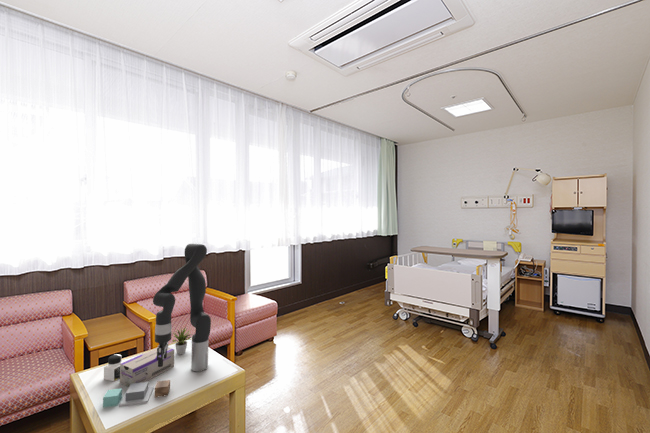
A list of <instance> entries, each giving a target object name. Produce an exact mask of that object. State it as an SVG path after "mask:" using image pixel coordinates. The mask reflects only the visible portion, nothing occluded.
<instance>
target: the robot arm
mask: <svg viewBox="0 0 650 433" xmlns="http://www.w3.org/2000/svg"><path fill="white" fill-rule="evenodd" d="M207 248H208V247H206V245H204V244H201V243H188V244H187V245H186V246H185V248H184V258H185V259H184V260H185V264H184V265H183V266H182V267H180V268H178V269H177V270H176V271H175V272H174V273H173V274H172V275H171V277H170V279H169V280H168V281H167V283H165V285H163V286H162V287H161V288H160V289H159V290H158V291H156V293H155V294H154V296H153V298H152V299H153V300H152V303H153V305H154V306H156V307H160V308H161V307H162V310H159V311H157V313H156V314H155V325H154V326H155V328H154V343H157V344H158V345H157V347H156V348H157V360H158V367H162V366H163V359H164V358H167V350H168V347H169V342H170V341H172V313H173V310H174V307H175V305H176V297H175V295H174V294H172V293H176V292H178V291H179V290H180V289H181V288H182V286H183V284H184V283H185V281H186V280H188V292H189V293H188V294H189V304H190V311H189V313H190V314H189V316H190V317H189V320H190V321H189V322H190V325H191V326H192V327H193V328H195V332H194V334H192V335H191V337H192V338H191V358H190V359H191V362H190V370H191V371H192V370H193V371H192V372H194V371H199V372H202V371H201V370H203V371H205V370H204V369H206V368H207V367H208V366H209V336H210V334H211V326H212V318H211V317H210V315H209V314H208V313H205V312H204V306H203V301H204V299H205V295H206V292H207V286H206V285H207V284H206V283H207V282H206V279H205V276H204V275H203V272H201V270H200V268H199V265H200V264H201V262H203V260H204V259H205V258H206V256H207V255H208V254H207V253H208V249H207ZM160 355H161V357H159V356H160ZM208 368H209V367H208ZM208 368H207V369H208ZM207 369H206V370H207Z"/></svg>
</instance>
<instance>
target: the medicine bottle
mask: <svg viewBox="0 0 650 433" xmlns="http://www.w3.org/2000/svg"><path fill="white" fill-rule="evenodd" d="M123 362H124V361H122V355H121V354H117V353H116V354H115V353H114V354H112V355H110V356H109V357H107V365H105V366H104V367H103V380H104V381H111V382H115V381H117V380H120V364H121V363H123Z"/></svg>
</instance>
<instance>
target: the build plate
mask: <svg viewBox="0 0 650 433" xmlns="http://www.w3.org/2000/svg"><path fill="white" fill-rule="evenodd" d="M154 386H155V385H154ZM154 386H149V381H146V382H142V383H133V384H131V385H130V386H129V387H128V388H127V389H126V392H125V394H124V395H123V396H122V399H121V400H120V402H119V404H118V406H119V407H125V406H133V405H140V404H148V403H147V402H149V400H150V399H151V395H152V393H153V391H154V389H155V387H154Z"/></svg>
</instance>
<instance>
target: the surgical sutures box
mask: <svg viewBox="0 0 650 433" xmlns="http://www.w3.org/2000/svg"><path fill="white" fill-rule="evenodd" d="M157 348H158V347H155V348H153V349H150V350H149V351H147V352H144V353H142V354H140V355H137V356H134V358H133V357H132V358H130V359H129V360H126V361H122V362H123V363H121V364H120V378H119V383H120V384H121V385H124V386H125V387H128V388H129V386H130V385H131V384H133V383H142V382H149V380H152V379H154V378H155V377H157V376H160V375H161V374H163V373H165V372H167V371H168V370H171V369H172V368H174V367H175V349H174V348H171V347H170V346H168V350H167V358H164V359H163V366H162V367H158V360H157ZM159 357H161V355H160V356H159Z"/></svg>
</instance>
